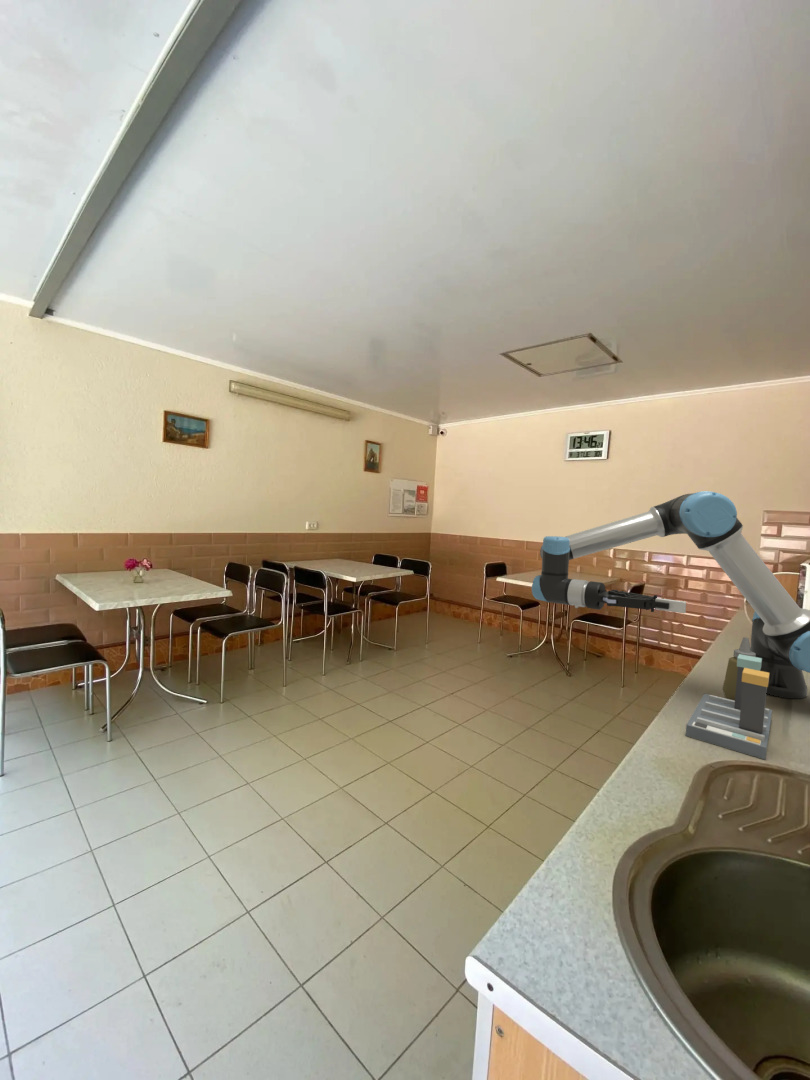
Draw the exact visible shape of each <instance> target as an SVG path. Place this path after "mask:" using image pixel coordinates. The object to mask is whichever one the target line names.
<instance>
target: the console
mask: <svg viewBox="0 0 810 1080" xmlns="http://www.w3.org/2000/svg"><path fill="white" fill-rule="evenodd" d="M734 706H735V701H734V700H730V699H726V698H724V697H720V696H716V695H712V694H708V693H704V694H703V695H702V697H701V699H700V700H699V702H698V704H697V706H696V707H695V709H694V711H693V713H692V714H691V715H690V718H689V719H688V721H687V723H686V726H685V729H686V730H685V737H689V738H692V739H695V740H698V741H701V742H705V743H709V744H712V745H715V746H718V747H721V748H725V749H729V750H732V751H735V752H738V753H741V754H745V755H748V756H750V757H751V756H752V757H753V758H754V757H755V758H758V759H761V760H765V761H766V758H767V751H768V745H769V737H770V732H769V731H770V730H771V725H772V718H773V716H772V714H773V709H770V708H766V707H765V716H764V727H763V735H762V734H758V733H754V732H751V731H747V730H743V729H740V728H739V722H740V710H738V709H734Z"/></svg>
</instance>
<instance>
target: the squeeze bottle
mask: <svg viewBox="0 0 810 1080" xmlns="http://www.w3.org/2000/svg"><path fill="white" fill-rule="evenodd" d="M750 648H751V642H750V638H749V637H742V640H741V643H740V646H739V648H738V649H733V656H732V657H730V658H728V661H727V667H726V671H725V678H724V681H723V685H722V691H723V694H724V697H725V698H726V699H730V700H734V701H735V694H736V682H737V670H738V666H737V658H738V656H739V654H742V655H747V656H752V657H756V654H755V653H754V652H751V649H750Z"/></svg>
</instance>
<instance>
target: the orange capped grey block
mask: <svg viewBox="0 0 810 1080" xmlns="http://www.w3.org/2000/svg"><path fill="white" fill-rule="evenodd" d="M742 682H743V686H742V698H741V710H740V722H739V728H740V729H743V730H747V731H751V732H754V733H758V734H762V735H763V727H764V716H765V708H766V705H767V702H766V701H767V694H766V693H767V687H768V683H769V673H768V672H763V671H758V670H753V669H748V668H744V670H743V672H742Z"/></svg>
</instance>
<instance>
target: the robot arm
mask: <svg viewBox="0 0 810 1080" xmlns="http://www.w3.org/2000/svg"><path fill="white" fill-rule="evenodd" d="M737 516H738V512H737V508H736V505H735V504H734V502H733V501H732V500H731V499H730V498H729V497H728V496H726V495H724V494H722V493H719V492H715V491H709V490H705V491H703V490H702V491H697V492H693V493H685V494H682V495H680V496H677V497H674V498H671V499H670V500H667V501H665V502H663V503H660V504H657V505H654V506H651V507H650V508H649V510H648V511H645V512H642V513H639V514H635V515H632V516H629V517H626V518H622V519H619V520H616V521H615V520H614V521H612V522H609V523H606V524H602V525H599V526H595V527H593V528H589V529H585V530H583V531H579V532H576V533H573V534H569V535H566V536H556V535H555V536H553V535H551V536H550V535H549V536H544V537H543V541H542V545H541V547H540V550H539V552H540V553H539V555H540V557H541V573H540V575H536V576H535V577H534V578H533V580H532V585H531V594H532V596H533V597H534V598H535V599H536V600H538V601H542V602H546V603H549V604H550V603H553V604H560V605H565V606H566V605H567V606H574V608H575V609H578V608H587V609H591V610H597V611H598V610H601V609H603V608H604V606H605V604H606V606H607V607H619V608H628V609H629V608H631V609H637V610H646V611H647V610H648V611H650V613H654V612H655V610H658V611H663V612H664V611H665V612H671V613H679V614H686V610H687V601H682V600H676V599H675V600H674V599H668V598H659V597H658V595H657V594H654V595H648V594H647V595H646V594H641V593H640V594H639V593H634V592H628V591H624V590H618V589H611V590H607V589H606V585H605V584H604V583H603V582H601V581H600V582H599V581H592V580H591V581H588V580H585V579H576V578H569V564H570V563H569V562H570V561H571V560H574V559H578V558H581V557H584V556H588V555H592V554H595V553H599V552H602V551H606V550H609V549H614V548H617V547H620V546H624V545H627V544H632V543H634V542H637V541H641V540H646V539H648V538H652V537H655V536H658V537H660V538H664V537H668V536H672V535H681V534H684V535H687V536H688V537H689V539H690V540H691V541H692V542H693V544H694V545H695V546H696V547H697V549H698V550H701V551H707V552H708V553H709V554H710V555H711V556H712V558H713V559H714V560H715V561H716V563H717V565H719V566H720V568H721V569H722V571H723V572H724V573H725V574H726V576H727V578H729V579H730V581H731V582H732V583H733V585H734V586H735V587H736V588H737V590H738V591H739V592H740V593H741V595H742V597H744V599H745V600H746V601H747V602H748V604H749V605H750V606H751V608H752V609H753V610H754V612H753V616H752V620H751V622H752V624H751V634H750V636H751V637H750V649H751V652H754V653H755V654H756V657H757V658H762V664H761V669H760V671H763V672H768V673H769V683H768V687H767V694H766V695H769V694H770V696H773V695H774V697H778V696H779V698H785V699H804V698H806V697H808V685H807V684H806V680H805V675H804V672H807V673H809V674H810V609H807V608H802V607H800V606H799V604H797V602H796V601H795V599H794V598H793V597H792V596H791V594H790V593H789V592H788V591H787V590H786V588H785V587H784V586H783V585H782V583H781V582H780V581H779V579H778V578H777V577H776V576H775V575H774V573H773V572H772V571H771V569H770V568H769V567H768V566H767V564H766V563H765V562H764V561H763V559H762V558H761V557H760V556H759V555H758V553H757V552H756V550H755V549H754V548H753V547H752V545H751V544H750V543H749V542H748V540H747V539H746V538H745V537H744V536H743V534H742V530H743V528H744V525H743V524H742V522H741V520H739V518H738V517H737ZM803 671H804V672H803Z"/></svg>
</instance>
